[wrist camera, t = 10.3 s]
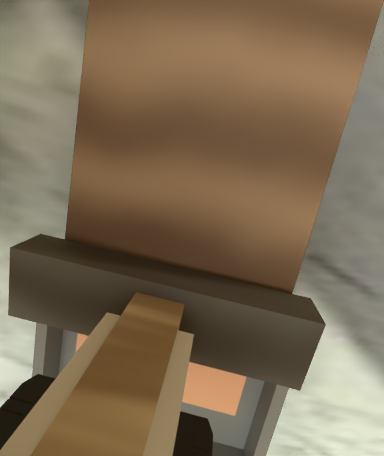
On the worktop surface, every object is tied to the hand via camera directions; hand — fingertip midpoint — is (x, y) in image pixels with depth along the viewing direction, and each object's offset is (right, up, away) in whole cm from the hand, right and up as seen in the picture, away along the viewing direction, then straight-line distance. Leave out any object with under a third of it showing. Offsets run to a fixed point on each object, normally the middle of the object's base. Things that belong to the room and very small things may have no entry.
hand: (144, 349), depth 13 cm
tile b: (+3, -5, +7) cm, 10 cm away
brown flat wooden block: (+3, +11, +6) cm, 13 cm away
